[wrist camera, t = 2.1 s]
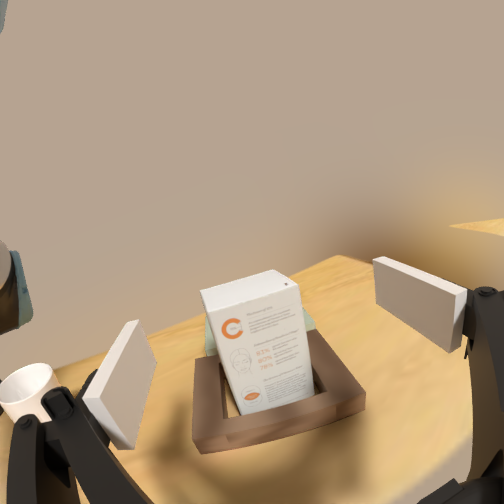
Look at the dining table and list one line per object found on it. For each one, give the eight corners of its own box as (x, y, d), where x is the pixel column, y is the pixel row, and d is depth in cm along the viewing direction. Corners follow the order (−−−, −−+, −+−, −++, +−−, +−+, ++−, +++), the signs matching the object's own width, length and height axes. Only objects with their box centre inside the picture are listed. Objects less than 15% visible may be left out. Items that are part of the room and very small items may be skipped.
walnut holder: (200, 454, 21) (191, 439, 20) (200, 373, 34) (195, 358, 34) (364, 409, 22) (365, 392, 22) (317, 344, 36) (315, 328, 35)
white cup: (43, 439, 21) (-1, 375, 19) (90, 421, 26) (51, 355, 23) (49, 481, 15) (-9, 411, 13) (105, 460, 20) (53, 388, 17)
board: (207, 358, 38) (205, 350, 38) (207, 323, 50) (205, 315, 49) (316, 330, 39) (314, 322, 39) (293, 301, 51) (292, 294, 51)
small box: (292, 367, 32) (274, 267, 29) (316, 396, 26) (300, 283, 23) (229, 389, 30) (198, 289, 28) (242, 423, 24) (206, 312, 22)
